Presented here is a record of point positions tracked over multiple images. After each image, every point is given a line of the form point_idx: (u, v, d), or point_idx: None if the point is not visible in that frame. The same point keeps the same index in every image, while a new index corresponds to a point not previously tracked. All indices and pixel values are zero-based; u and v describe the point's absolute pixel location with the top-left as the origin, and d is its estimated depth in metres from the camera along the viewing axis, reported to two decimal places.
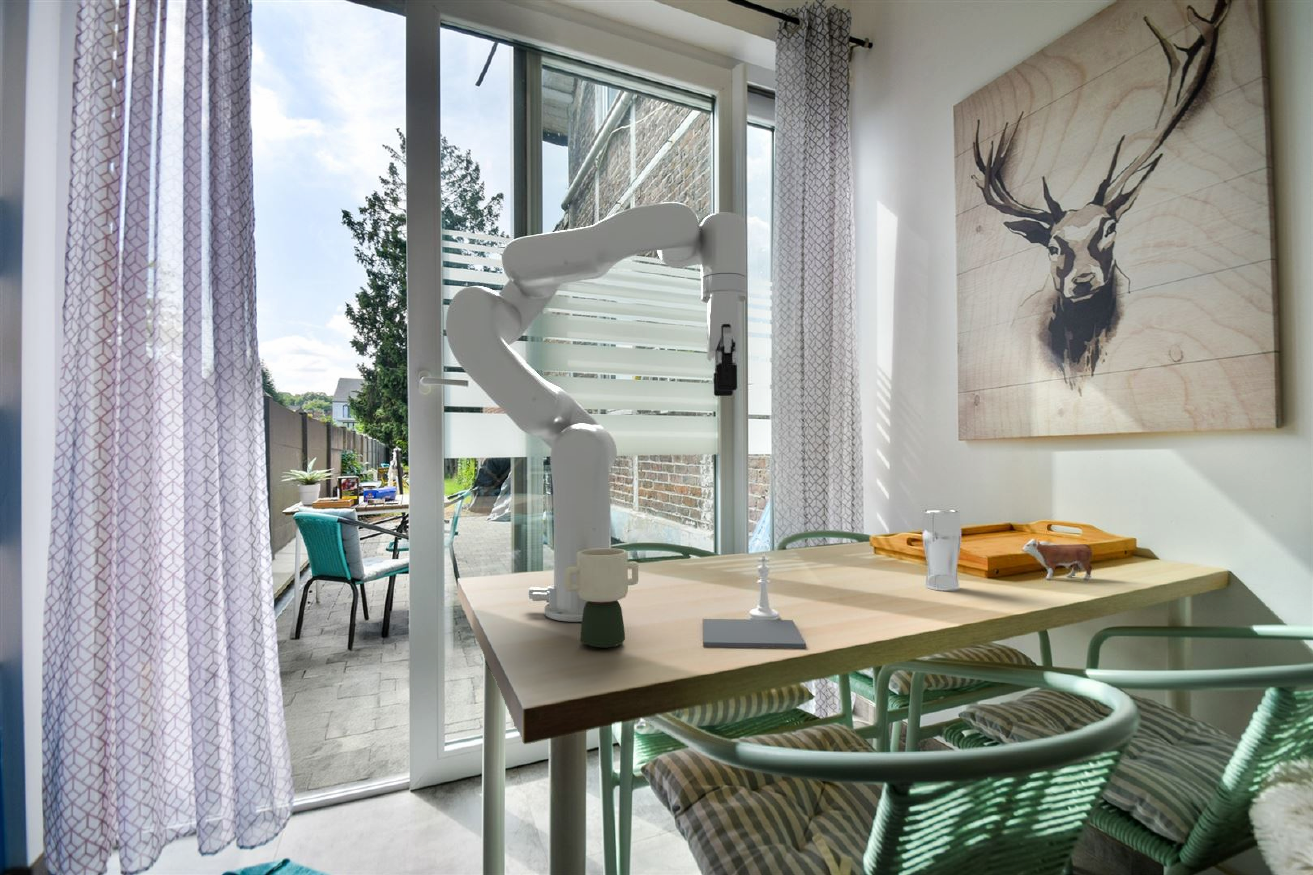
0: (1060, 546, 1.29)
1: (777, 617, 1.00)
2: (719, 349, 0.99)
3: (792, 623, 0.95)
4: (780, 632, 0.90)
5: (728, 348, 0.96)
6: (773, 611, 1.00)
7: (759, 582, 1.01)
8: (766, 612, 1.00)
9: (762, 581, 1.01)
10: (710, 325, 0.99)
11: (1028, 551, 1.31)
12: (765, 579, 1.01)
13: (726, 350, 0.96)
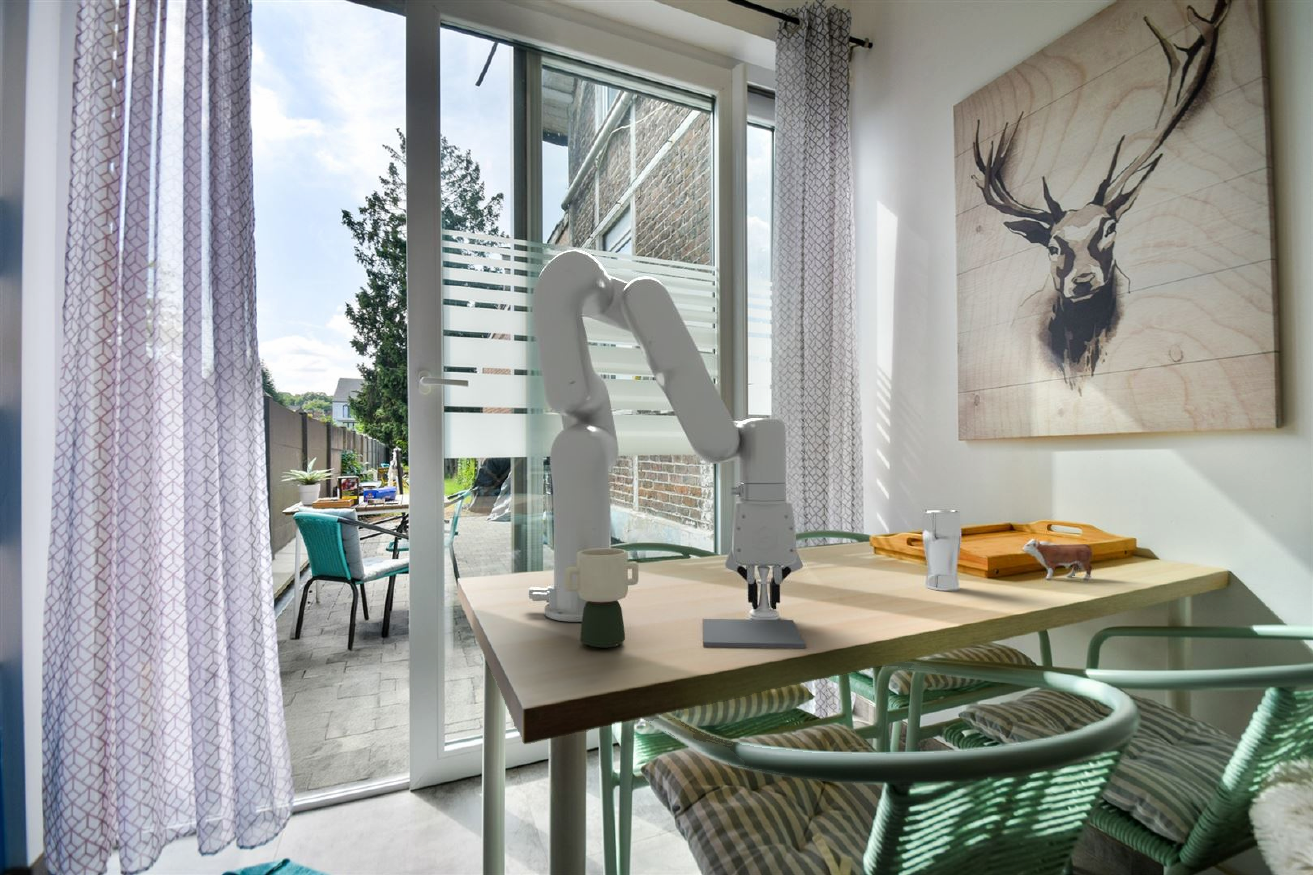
0: (1060, 546, 1.29)
1: (777, 617, 1.00)
2: None
3: (792, 623, 0.95)
4: (780, 632, 0.90)
5: None
6: (773, 611, 1.00)
7: (759, 582, 1.01)
8: (766, 611, 1.00)
9: (762, 581, 1.01)
10: (794, 537, 0.99)
11: (1028, 551, 1.31)
12: (765, 579, 1.01)
13: None
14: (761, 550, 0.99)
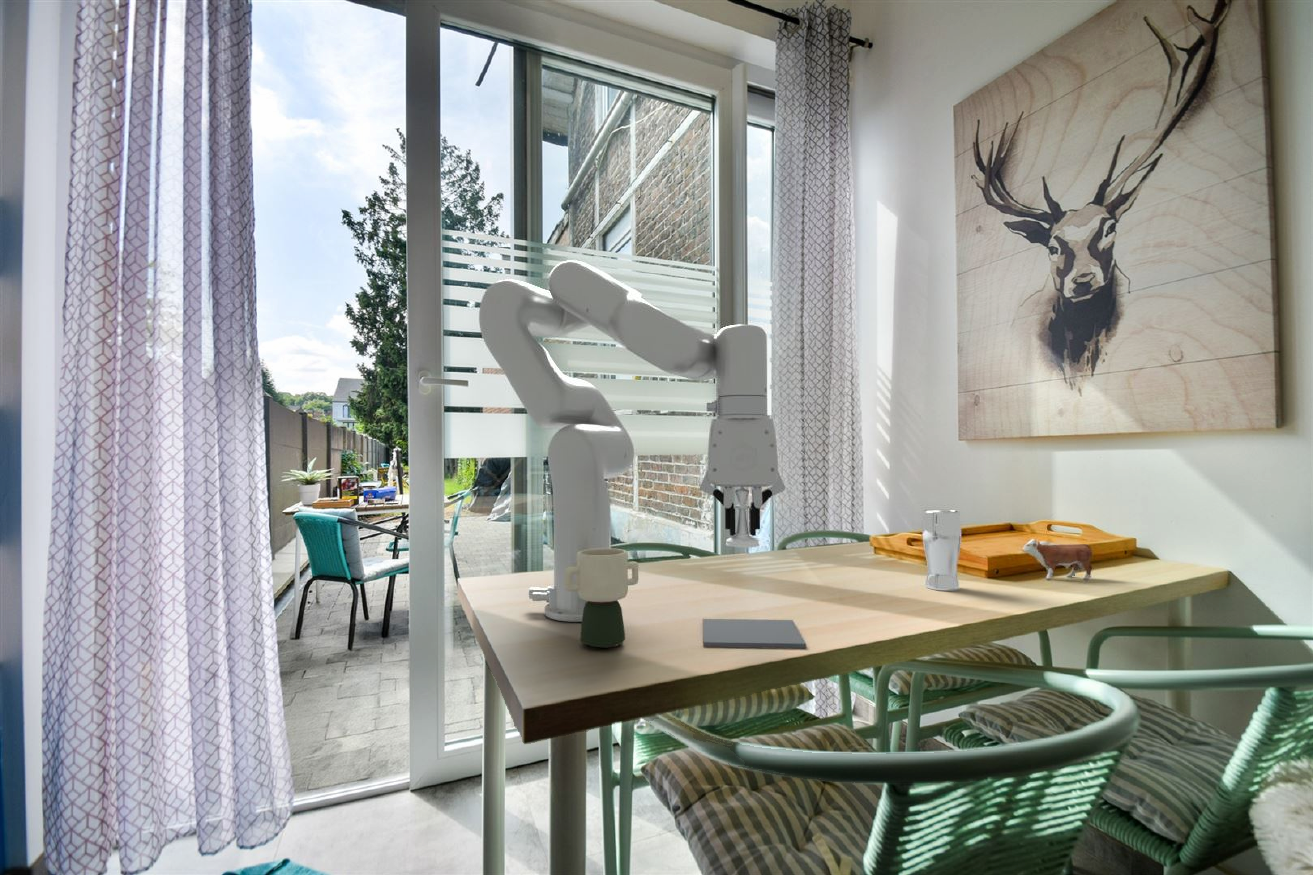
0: (1060, 546, 1.29)
1: (757, 544, 0.90)
2: (761, 490, 0.91)
3: (792, 623, 0.95)
4: (780, 632, 0.90)
5: None
6: (752, 538, 0.91)
7: (737, 506, 0.91)
8: (744, 538, 0.90)
9: (740, 505, 0.91)
10: (775, 455, 0.89)
11: (1028, 551, 1.31)
12: (744, 503, 0.91)
13: None
14: (739, 469, 0.89)
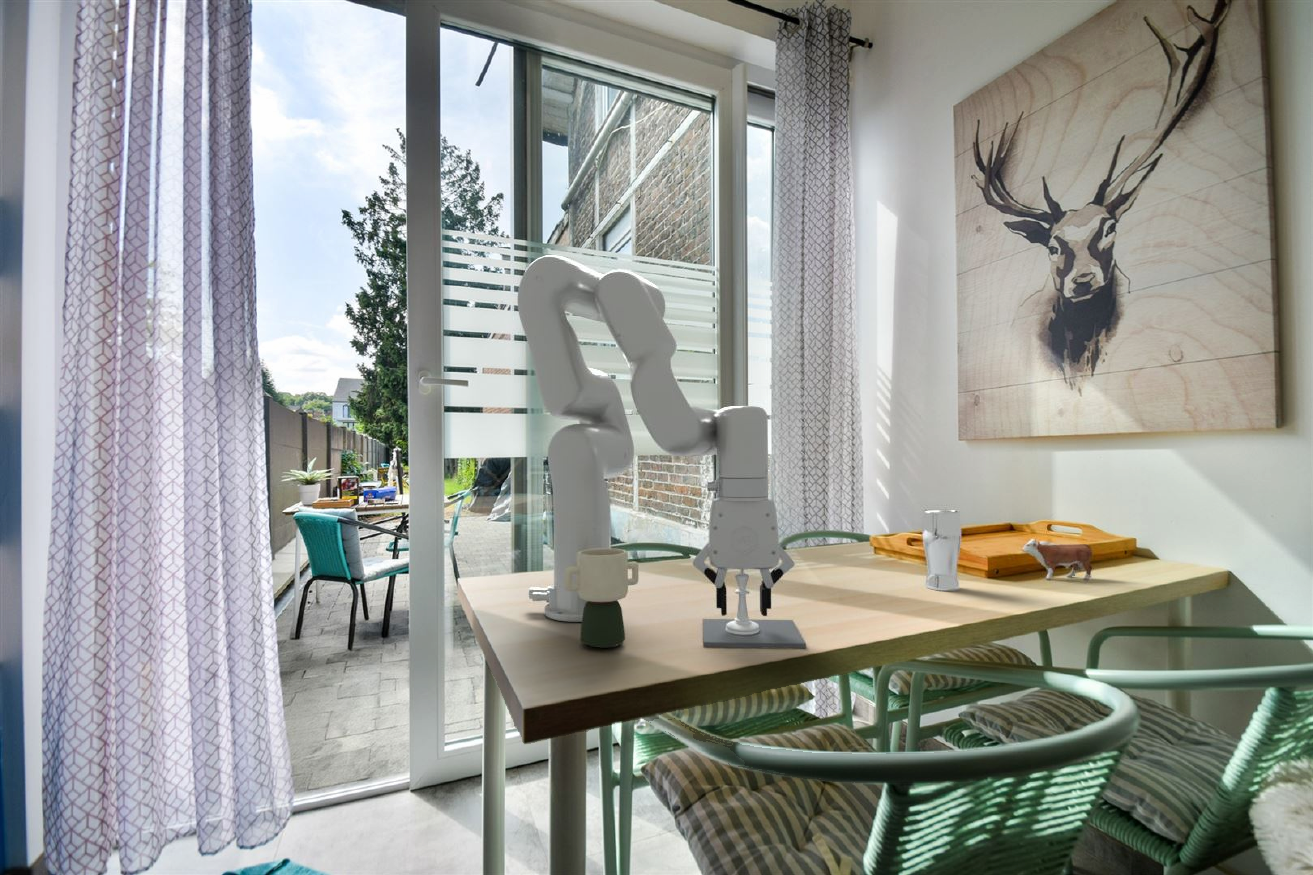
0: (1060, 546, 1.29)
1: (757, 630, 0.90)
2: (768, 569, 0.90)
3: (792, 623, 0.95)
4: (780, 632, 0.90)
5: None
6: (752, 624, 0.91)
7: (737, 592, 0.91)
8: (744, 624, 0.90)
9: (740, 591, 0.91)
10: (776, 537, 0.89)
11: (1028, 551, 1.31)
12: (744, 588, 0.91)
13: None
14: (740, 552, 0.89)
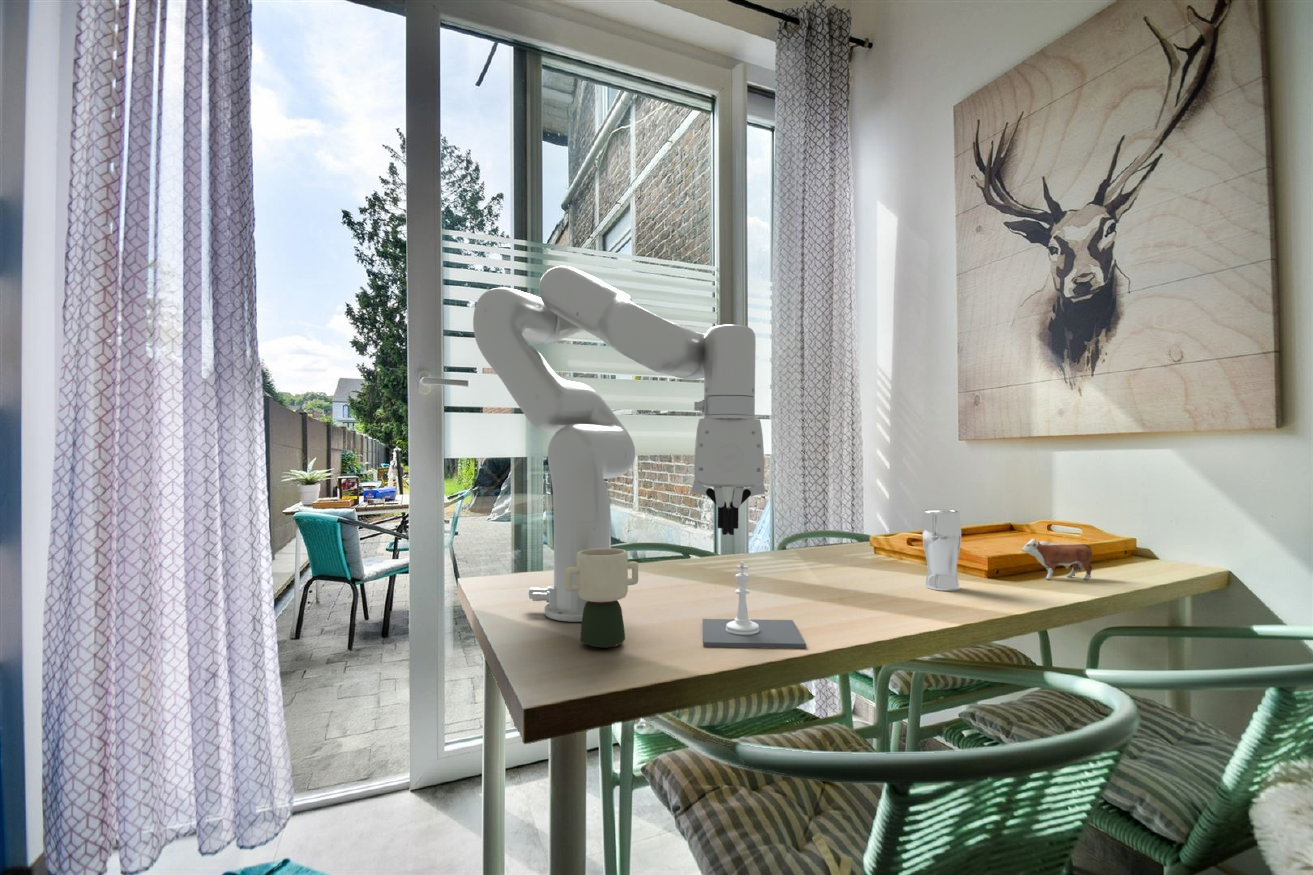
0: (1060, 546, 1.29)
1: (757, 631, 0.90)
2: (743, 490, 0.91)
3: (792, 623, 0.95)
4: (780, 632, 0.90)
5: None
6: (752, 624, 0.91)
7: (737, 592, 0.91)
8: (744, 624, 0.90)
9: (740, 591, 0.91)
10: (761, 455, 0.89)
11: (1028, 551, 1.31)
12: (744, 588, 0.91)
13: (747, 496, 0.92)
14: (725, 469, 0.89)
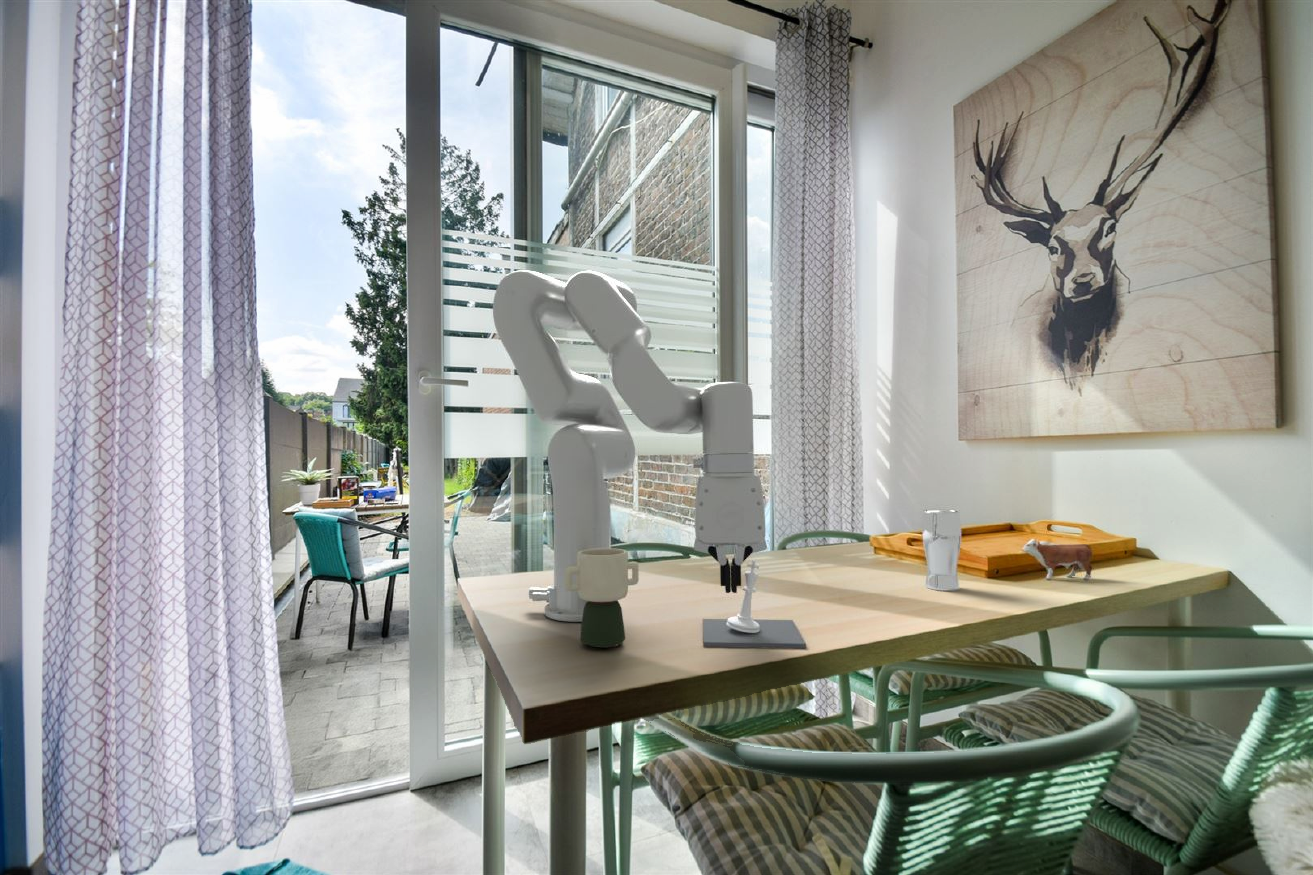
0: (1060, 546, 1.29)
1: (757, 630, 0.90)
2: (744, 547, 0.90)
3: (792, 623, 0.95)
4: (780, 632, 0.90)
5: None
6: (754, 623, 0.91)
7: (744, 589, 0.91)
8: (746, 622, 0.90)
9: (747, 588, 0.91)
10: (762, 512, 0.89)
11: (1028, 551, 1.31)
12: (751, 586, 0.91)
13: None
14: (726, 528, 0.89)
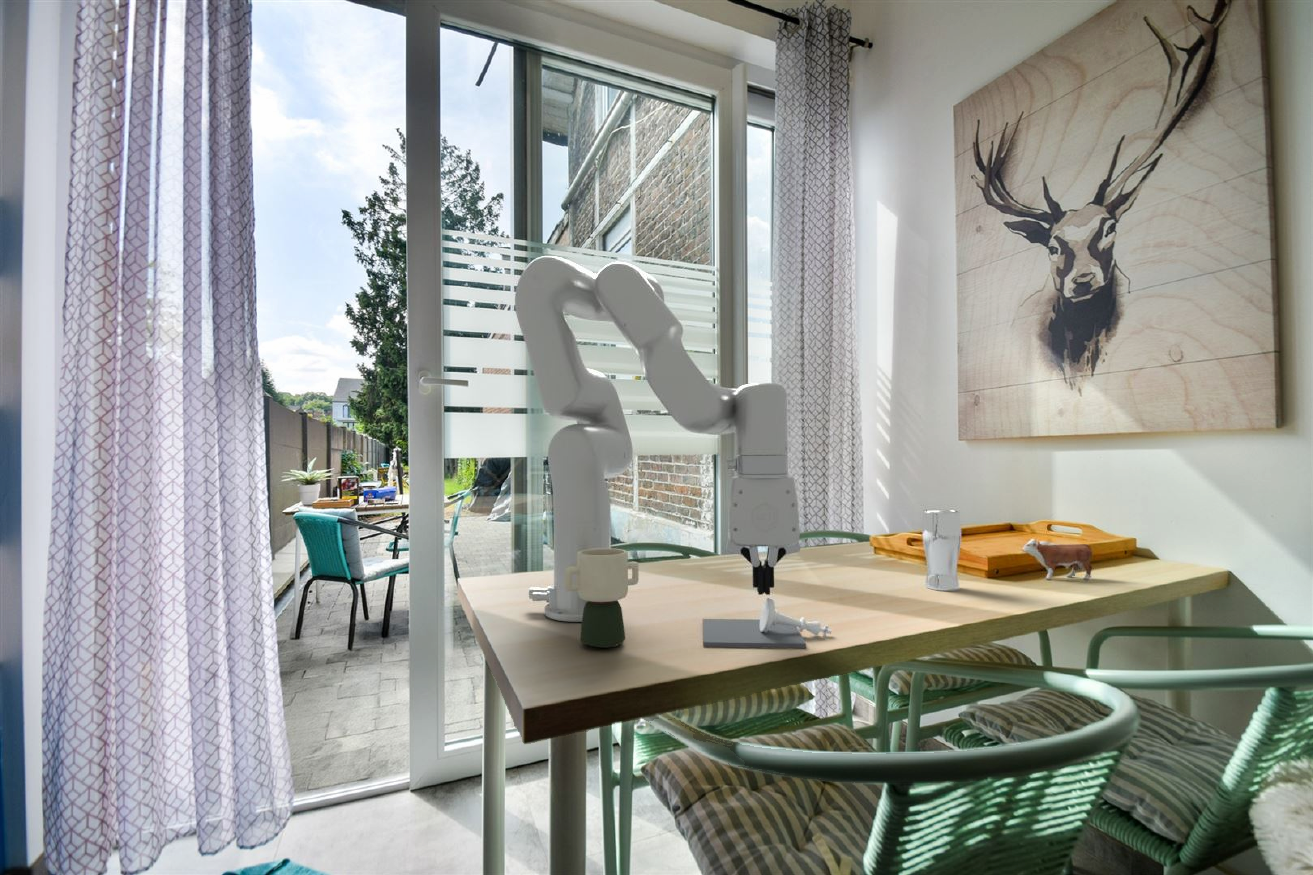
0: (1060, 546, 1.29)
1: (762, 631, 0.90)
2: (778, 549, 0.90)
3: None
4: (780, 632, 0.90)
5: None
6: None
7: (804, 622, 0.90)
8: (772, 622, 0.89)
9: (804, 625, 0.90)
10: (796, 514, 0.89)
11: (1028, 551, 1.31)
12: (805, 628, 0.90)
13: None
14: (760, 529, 0.89)
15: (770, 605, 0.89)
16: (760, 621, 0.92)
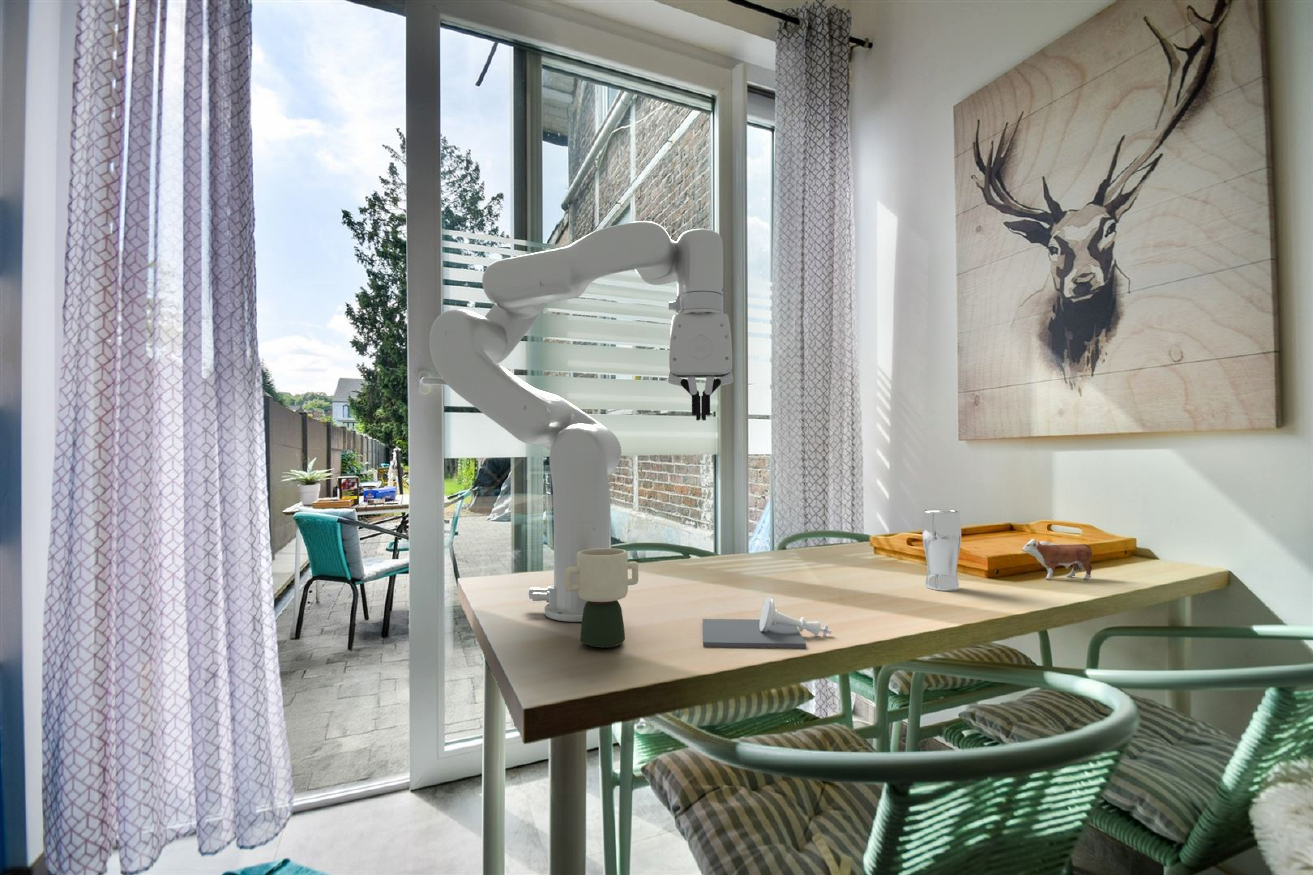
0: (1060, 546, 1.29)
1: (762, 630, 0.90)
2: (713, 379, 1.00)
3: None
4: (780, 632, 0.90)
5: None
6: None
7: (804, 621, 0.90)
8: (772, 621, 0.89)
9: (804, 625, 0.90)
10: (729, 346, 0.99)
11: (1028, 551, 1.31)
12: (804, 627, 0.90)
13: (718, 385, 1.01)
14: (696, 359, 0.99)
15: (770, 604, 0.89)
16: (760, 622, 0.92)
